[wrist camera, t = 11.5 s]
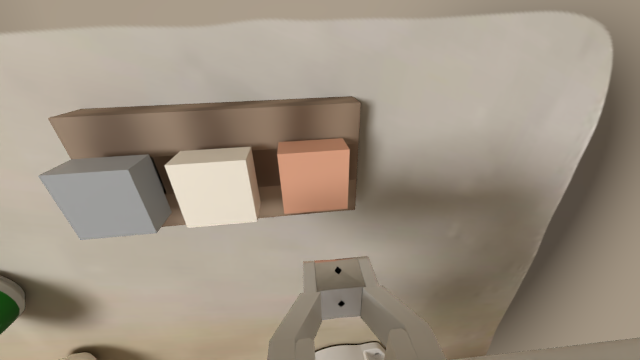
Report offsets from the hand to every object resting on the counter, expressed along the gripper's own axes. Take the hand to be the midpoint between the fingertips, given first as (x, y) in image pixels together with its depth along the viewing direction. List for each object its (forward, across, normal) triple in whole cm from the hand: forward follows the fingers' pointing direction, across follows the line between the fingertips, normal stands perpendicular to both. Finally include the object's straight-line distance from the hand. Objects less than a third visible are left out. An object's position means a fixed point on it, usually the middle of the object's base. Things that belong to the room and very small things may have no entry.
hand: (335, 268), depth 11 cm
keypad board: (+14, +8, 0) cm, 16 cm away
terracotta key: (+13, +1, 0) cm, 13 cm away
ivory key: (+12, +8, 0) cm, 15 cm away
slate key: (+12, +15, 0) cm, 19 cm away
